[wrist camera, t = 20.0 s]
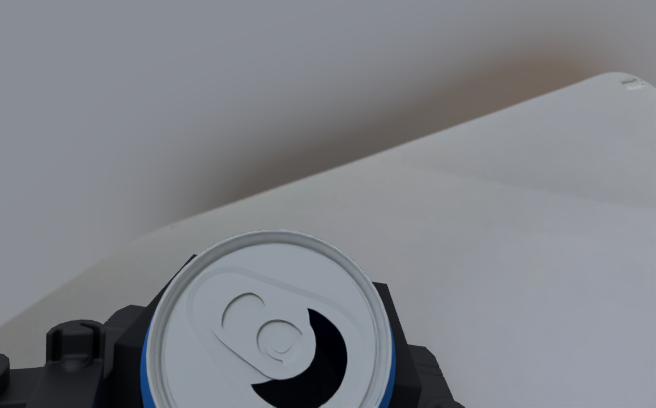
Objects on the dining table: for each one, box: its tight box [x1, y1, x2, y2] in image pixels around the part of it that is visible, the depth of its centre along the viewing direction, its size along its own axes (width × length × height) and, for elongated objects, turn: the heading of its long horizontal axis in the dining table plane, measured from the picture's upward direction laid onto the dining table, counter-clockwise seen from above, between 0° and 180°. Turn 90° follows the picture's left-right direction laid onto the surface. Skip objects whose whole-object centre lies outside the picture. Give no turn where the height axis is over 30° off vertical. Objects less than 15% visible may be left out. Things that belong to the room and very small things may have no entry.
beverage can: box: [140, 229, 396, 408], centre depth 15 cm, size 6×6×12 cm
